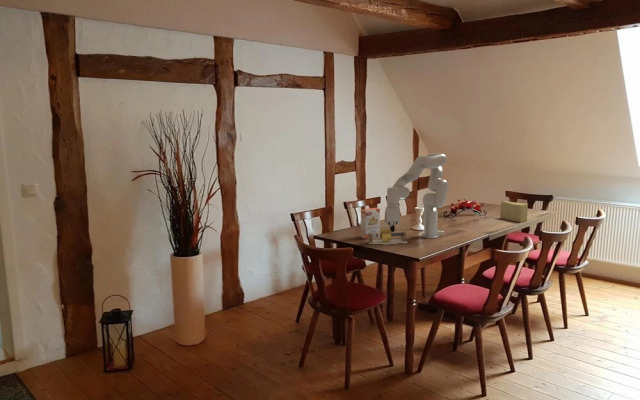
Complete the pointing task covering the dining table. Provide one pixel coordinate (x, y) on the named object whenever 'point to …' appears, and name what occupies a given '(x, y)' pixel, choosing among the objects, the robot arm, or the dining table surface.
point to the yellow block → (385, 234)
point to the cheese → (514, 211)
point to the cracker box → (370, 221)
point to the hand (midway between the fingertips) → (392, 231)
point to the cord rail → (396, 241)
